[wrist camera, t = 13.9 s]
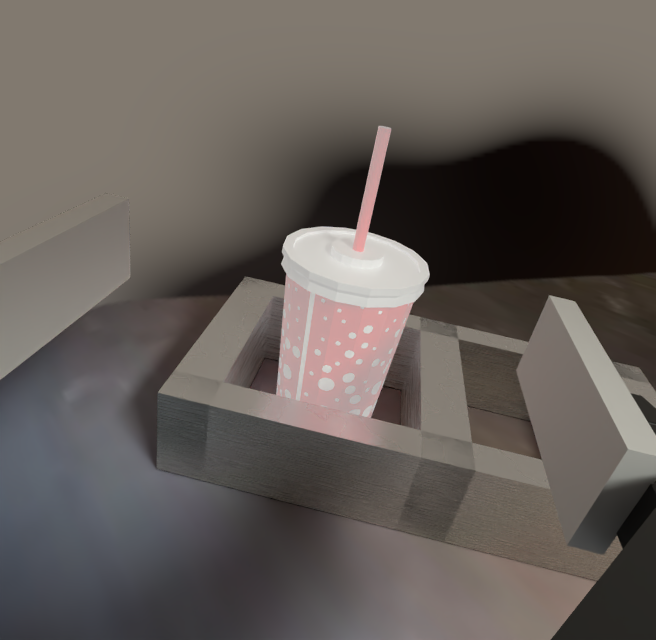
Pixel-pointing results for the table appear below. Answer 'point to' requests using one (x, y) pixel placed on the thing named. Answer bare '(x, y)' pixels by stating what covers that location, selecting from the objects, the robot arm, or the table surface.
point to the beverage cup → (345, 307)
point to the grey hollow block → (373, 436)
